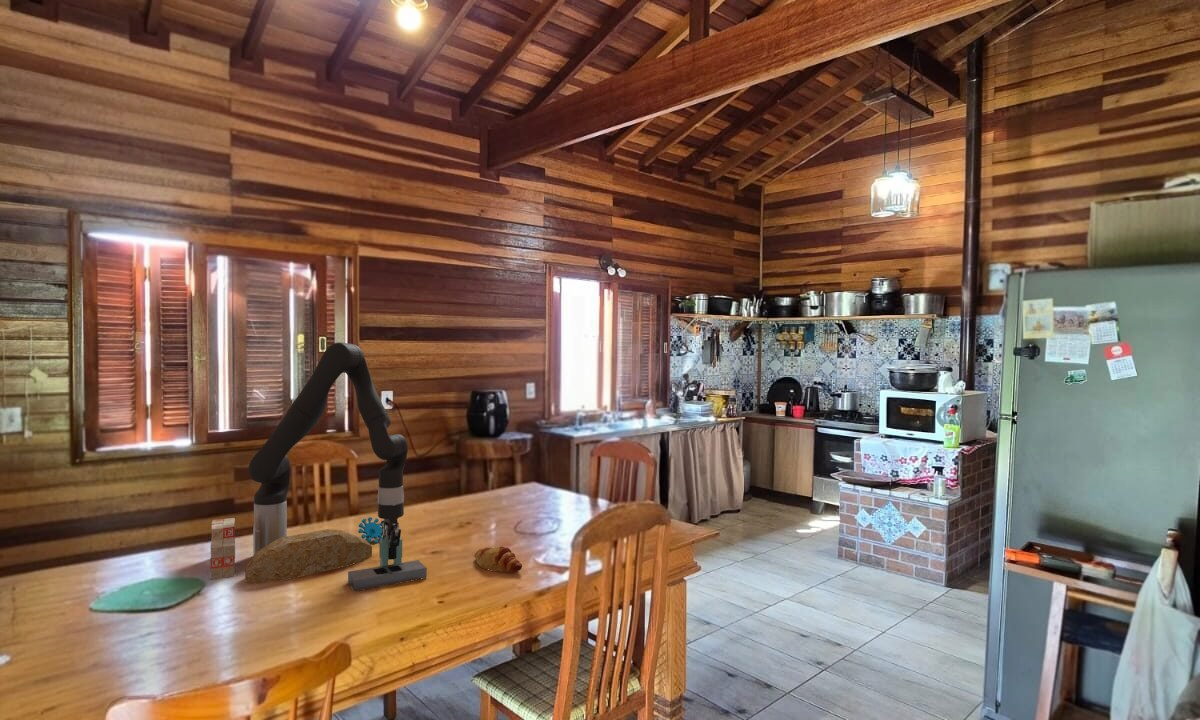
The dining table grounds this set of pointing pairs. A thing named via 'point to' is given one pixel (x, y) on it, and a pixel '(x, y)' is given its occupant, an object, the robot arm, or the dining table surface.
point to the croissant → (498, 559)
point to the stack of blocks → (222, 548)
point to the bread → (306, 555)
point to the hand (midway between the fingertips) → (390, 557)
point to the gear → (371, 530)
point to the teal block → (385, 552)
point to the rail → (386, 575)
